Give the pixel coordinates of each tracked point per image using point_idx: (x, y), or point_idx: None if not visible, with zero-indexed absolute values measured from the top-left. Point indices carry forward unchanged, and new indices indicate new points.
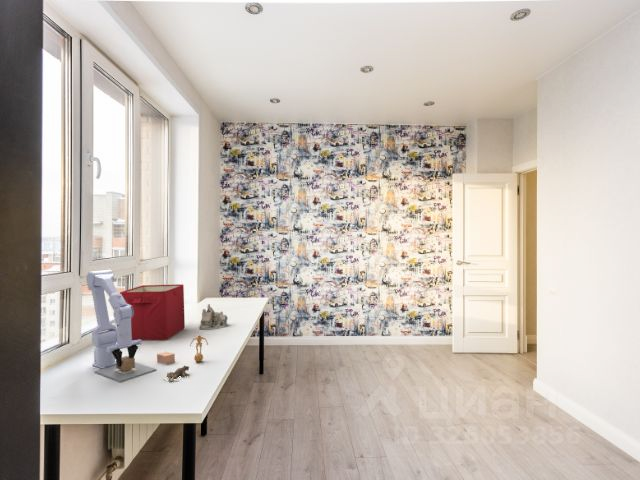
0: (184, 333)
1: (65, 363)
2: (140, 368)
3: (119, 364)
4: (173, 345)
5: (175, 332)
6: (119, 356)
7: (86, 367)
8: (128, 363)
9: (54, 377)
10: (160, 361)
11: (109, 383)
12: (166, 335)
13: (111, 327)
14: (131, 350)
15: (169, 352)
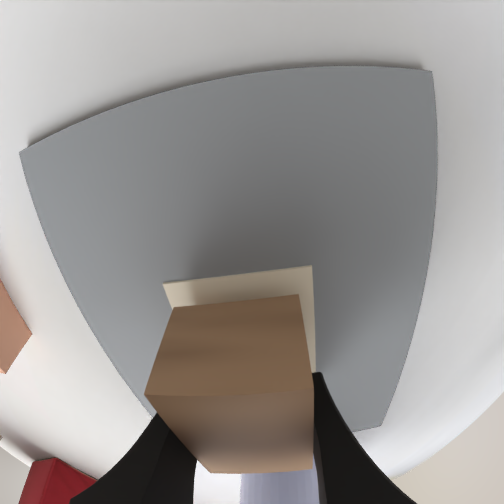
0: (24, 447)
1: None
2: (127, 288)
3: (327, 392)
4: (22, 422)
5: (41, 463)
6: (362, 477)
7: None
8: (243, 356)
9: (462, 424)
10: (6, 308)
11: (478, 144)
12: (51, 468)
13: None
14: None
15: None
